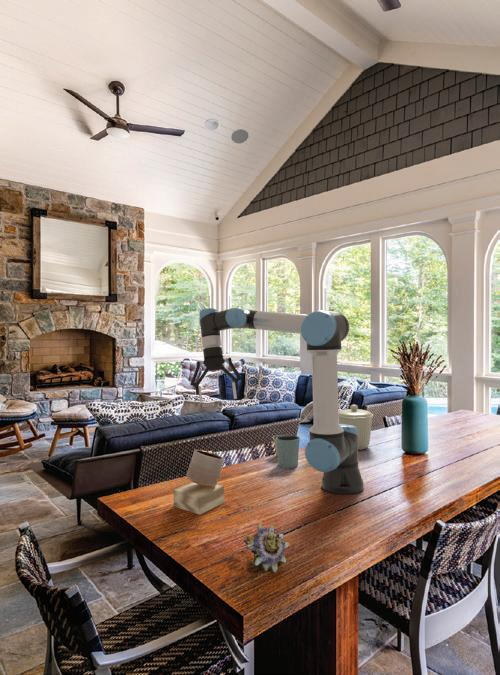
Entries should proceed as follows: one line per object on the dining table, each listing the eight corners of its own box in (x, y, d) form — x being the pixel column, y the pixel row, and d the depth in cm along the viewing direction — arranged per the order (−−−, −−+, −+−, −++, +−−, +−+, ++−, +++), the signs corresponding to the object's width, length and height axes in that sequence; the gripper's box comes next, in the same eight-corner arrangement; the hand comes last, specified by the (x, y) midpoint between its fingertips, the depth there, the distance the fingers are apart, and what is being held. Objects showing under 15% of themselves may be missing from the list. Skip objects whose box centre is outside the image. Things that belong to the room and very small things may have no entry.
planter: (220, 489, 148) (229, 461, 149) (191, 483, 143) (200, 454, 145) (209, 480, 158) (217, 453, 159) (181, 474, 153) (190, 447, 154)
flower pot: (292, 459, 201) (291, 440, 200) (271, 458, 202) (271, 439, 202) (294, 453, 210) (293, 435, 210) (274, 452, 212) (274, 434, 211)
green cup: (273, 467, 189) (272, 439, 189) (280, 460, 198) (280, 434, 198) (296, 469, 185) (295, 441, 185) (302, 462, 194) (302, 435, 194)
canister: (345, 441, 230) (344, 400, 229) (379, 445, 219) (378, 403, 219) (329, 449, 215) (328, 406, 215) (365, 454, 204) (364, 409, 204)
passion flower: (274, 593, 108) (259, 567, 101) (243, 569, 115) (227, 543, 109) (301, 554, 113) (288, 528, 107) (270, 534, 121) (256, 508, 115)
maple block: (224, 503, 152) (223, 486, 152) (200, 515, 142) (199, 497, 142) (198, 496, 159) (198, 479, 159) (174, 507, 149) (173, 489, 149)
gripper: (241, 345, 182) (247, 397, 180) (180, 351, 177) (185, 404, 175) (244, 343, 175) (251, 396, 173) (181, 349, 170) (186, 405, 168)
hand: (218, 401), depth 174 cm, fingers open, 13 cm apart
